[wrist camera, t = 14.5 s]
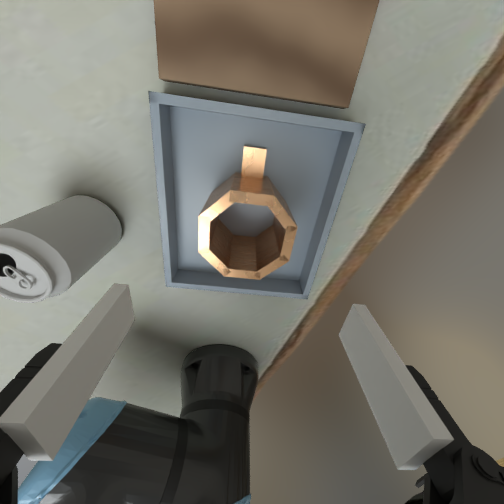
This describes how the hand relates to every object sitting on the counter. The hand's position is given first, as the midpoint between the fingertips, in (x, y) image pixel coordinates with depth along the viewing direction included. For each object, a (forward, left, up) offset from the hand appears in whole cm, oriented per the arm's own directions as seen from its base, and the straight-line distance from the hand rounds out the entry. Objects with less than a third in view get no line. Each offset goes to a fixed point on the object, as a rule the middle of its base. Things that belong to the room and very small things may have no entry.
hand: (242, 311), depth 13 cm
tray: (0, 0, -17) cm, 17 cm away
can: (-4, +19, -18) cm, 26 cm away
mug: (+2, 0, -17) cm, 17 cm away
